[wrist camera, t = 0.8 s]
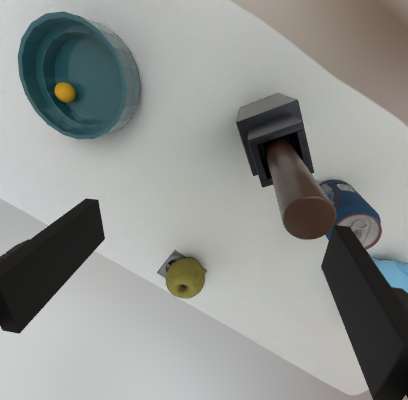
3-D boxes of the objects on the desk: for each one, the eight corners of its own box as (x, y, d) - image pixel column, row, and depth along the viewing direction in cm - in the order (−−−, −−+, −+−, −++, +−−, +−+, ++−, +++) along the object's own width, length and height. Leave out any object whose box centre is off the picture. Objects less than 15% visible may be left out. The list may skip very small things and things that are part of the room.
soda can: (343, 217, 44) (373, 260, 33) (303, 209, 45) (320, 250, 34) (358, 181, 41) (397, 215, 30) (315, 173, 42) (339, 205, 31)
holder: (278, 92, 37) (313, 104, 18) (288, 131, 40) (328, 180, 20) (240, 107, 39) (233, 133, 20) (251, 143, 41) (254, 199, 22)
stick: (282, 126, 24) (332, 189, 10) (287, 147, 25) (340, 234, 11) (260, 134, 25) (277, 203, 11) (265, 154, 26) (289, 244, 11)
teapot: (419, 291, 48) (459, 340, 39) (347, 306, 52) (368, 353, 43) (406, 239, 44) (448, 280, 35) (329, 260, 48) (348, 301, 39)
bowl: (110, 1, 36) (86, -14, 30) (158, 112, 41) (144, 117, 36) (29, 50, 40) (-5, 45, 35) (81, 144, 46) (60, 152, 41)
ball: (73, 79, 40) (61, 79, 38) (83, 97, 42) (71, 99, 39) (59, 86, 41) (46, 86, 39) (69, 104, 42) (57, 106, 40)
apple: (213, 274, 54) (208, 299, 48) (181, 282, 57) (172, 307, 50) (198, 246, 52) (191, 269, 45) (165, 256, 54) (154, 279, 48)
